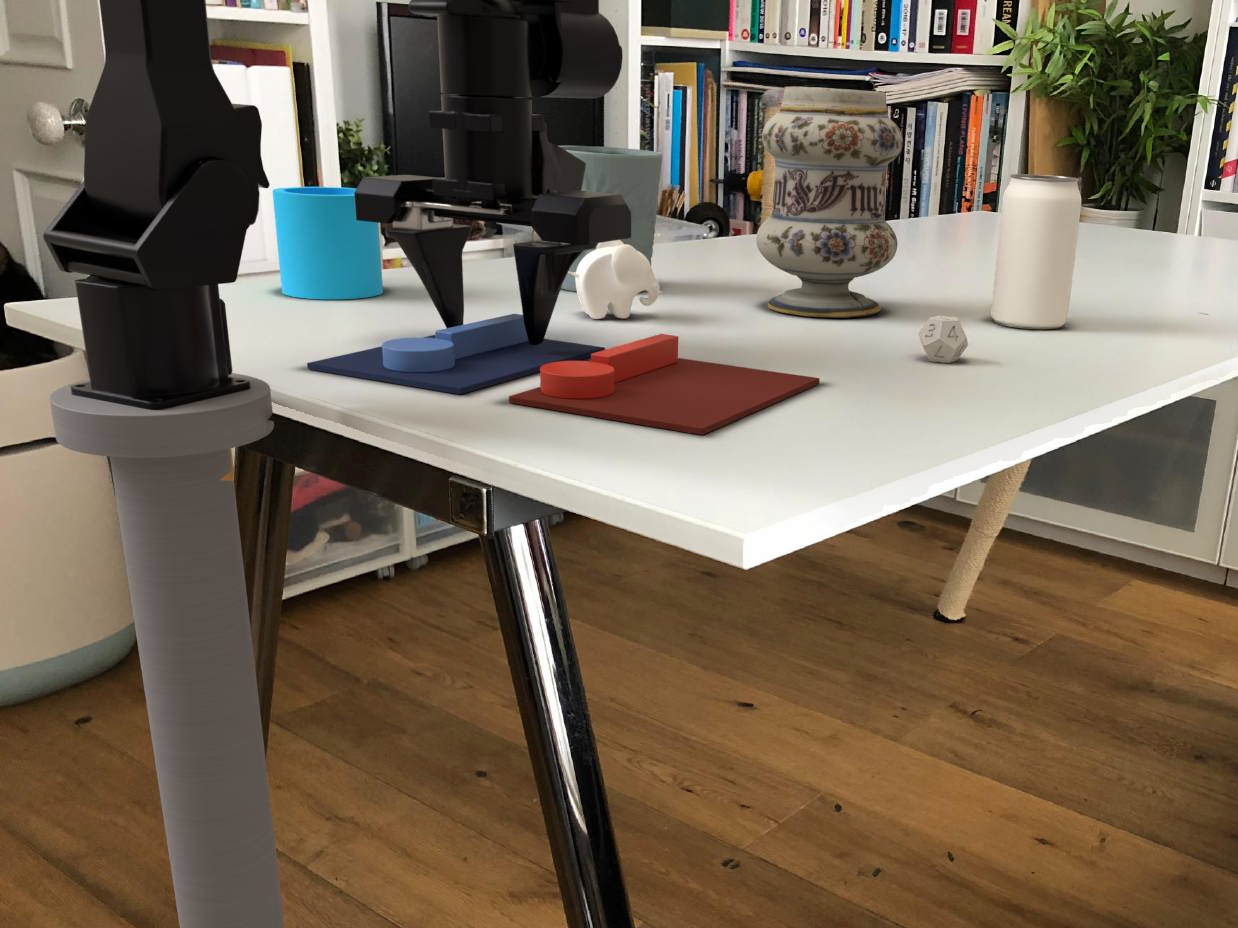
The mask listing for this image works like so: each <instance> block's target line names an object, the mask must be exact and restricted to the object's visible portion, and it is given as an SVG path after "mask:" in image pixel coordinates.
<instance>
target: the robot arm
mask: <svg viewBox="0 0 1238 928" xmlns="http://www.w3.org/2000/svg"><path fill="white" fill-rule="evenodd" d="M98 2H99V10H100V17H101V23H102V24H101V27H102V34H103V43H104V51H105V52H104V66H103V68H102V71H101V75H100V77H99V80H98V83H97V85H96V88H95V91H94V94H93V97H92V100H91V103H90V106H89V108H88V111H87V114H86V117H85V133H84V159H83V160H84V161H83V163H84V164H83V181H82V182H81V184H80V185H79V186H78V188H77V189H76V190H75V192H74V193H72V196H71V197H70V198H69V199H68V201H67V202H66V203H65V205H64V206H63V207H62V208H61V210H60V211H59V212H58V213H57V215H56V216H55V217H54V218H53V220H52V221H51V222H50V224H49V225H48V226H47V227H46V229H45V230H44V231H43V234H42V238H43V240H44V242H45V244H46V246H47V249H48V250H49V252H50V254H51V256H52V258H53V261H54V262H55V263H56V265H57V268H58V269H59V271H60V272H64V273H68V274H71V273H76V274H81V275H87V277H86V278H80V279H75V280H74V284H75V290H76V291H75V292H76V297H77V303H78V311H79V317H80V323H81V329H82V330H81V331H82V336H83V343H84V350H85V356H86V363H87V371H88V375H89V379H90V382H85V383H80V384H75V385H72V386H70V387H71V393H72V395H76V396H81V397H86V398H91V399H96V400H101V401H107V402H112V403H117V404H122V405H127V406H132V407H137V408H143V409H148V410H163V409H168V408H172V407H176V406H181V405H185V404H189V403H193V402H198V401H202V400H206V399H211V398H215V397H219V396H223V395H228V394H232V393H236V392H241V391H245V390H249V389H251V386H250V381H249V380H245V379H240V378H234V377H228V375H231V374H232V373H233V364H232V363H233V362H232V354H231V353H232V352H231V343H230V334H229V327H228V317H227V309H226V302H225V301H224V299H222V298H220V290H219V289H220V288H219V285H224V284H232V283H235V282H236V281H237V279H238V274H239V269H240V265H241V260H242V255H243V250H244V245H245V240H246V235H247V231H248V229H249V228H250V227H251V226H253V225H255V223H256V221H257V219H258V214H259V211H260V194H261V193H260V188H261V189H269V188H270V185H271V184H270V181H269V179H268V176H267V173H266V171H265V169H264V164H263V160H262V133H263V132H262V131H263V122H262V118H261V114H260V110H259V108H258V107H257V106H256V105H253V104H241V103H232V101H231V99H230V98H229V96H228V94H227V92H226V90H225V88H224V87H223V85H222V83H221V81H220V79H219V77H218V75H217V73H216V71H215V69H214V65H213V60H212V55H211V54H212V53H211V44H210V34H209V33H210V32H209V23H208V12H207V11H208V10H207V0H99V1H98ZM408 10H409V11H410V12H411V13H412V14H414V15H423V16H435V17H437V35H438V39H437V40H438V55H439V56H438V58H439V59H438V60H439V77H440V78H439V79H440V81H439V82H440V93H441V94H440V100H441V110H428V121H429V122H428V123H429V129H442V140H443V141H442V142H443V162H444V177H436V176H424V175H414V174H397V175H382V176H381V175H380V176H378V175H377V176H364V177H362V179H361V180H360V182H359V183H358V185H357V187H356V191H355V193H354V199H355V213H356V220H358V221H367V222H376V223H379V224H384V225H385V224H392V227H386V228H384V232H385V236H386V237H387V238H391V239H392V238H393V239H394V240H395V241H396V243H397V244H398V246H399V248H401V250H402V252H403V253H404V255H405V257H406V259H407V260H408V261H409V263H410V265H411V266H412V267H413V269H414V271H415V272H416V274H417V276H418V277H419V279H420V281H421V283H422V284H423V287H424V288H425V290H426V292H427V295H428V296H429V298H430V299H431V302H432V303H433V305H434V307H435V309H436V311H437V313H438V314H439V316H440V319H441V320H442V322H443V324H444V326H445V329H446V328H451V327H455V326H460V325H464V318H465V317H464V316H465V295H464V270H463V268H464V267H463V252H464V249H465V246H466V243H467V242H468V239H469V237H470V235H471V232H472V230H473V226H472V225H465V224H457V223H454V219H457V220H465V221H466V220H467V221H475V222H483V223H484V222H485V223H495V224H505V225H513V226H523V227H531V228H532V234H531V235H532V240H530V241H523V242H515V243H513V245H512V246H513V254H514V255H513V256H514V261H515V268H516V275H517V283H518V290H519V296H520V304H521V311H522V315H523V319H524V325H525V329H526V333H527V337H528V341H529V344H530V345H538V344H541V343H542V342H543V340H544V339H545V337H546V334H547V330H548V328H549V325H550V322H551V319H552V316H553V313H554V310H555V307H556V304H557V301H558V298H559V296H560V292H561V290H562V288H561V287H562V284H563V282H564V280H565V278H566V276H567V273H568V271H569V269H570V267H571V265H572V264H573V263H574V261H575V260H576V259H577V258H578V257H579V256H580V254H581V253H582V252H583V251H584V250H590V249H595V248H596V246H597V244H598V243H602V242H608V241H615V240H621V239H628V238H631V211H630V209H629V208H628V206H627V204H626V202H625V200H624V199H623V197H622V195H621V194H612V193H601V192H590V191H582V185H583V180H584V174H585V169H586V163H585V162H584V161H582V160H580V159H579V158H577V157H576V156H574V155H572V154H571V153H569V152H568V151H566V150H564V149H563V148H561V147H559V146H560V145H556V144H554V143H551V142H550V141H549V138H548V132H547V131H548V130H547V129H548V127H547V126H548V125H547V123H546V121H545V115H544V114H537V113H536V114H534V113H533V98H532V97H535V98H558V99H559V98H562V99H564V98H565V99H597V98H601V97H603V96H605V95H606V94H608V93H610V91H611V90H612V89H613V88H614V87H615V86H616V84H617V82H618V80H619V78H620V74H621V71H622V67H623V47H622V46H621V44H620V41H619V37H618V34H617V31H616V30H615V28H614V26H613V24H612V23H611V22H610V20H609V19H608V18H607V17H606V16H604V15H603V14H602V13H601V12H600V0H410V1H409V2H408ZM470 199H475V200H476V199H478V200H480V201H472V202H471V200H470Z"/></svg>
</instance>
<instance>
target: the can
mask: <svg viewBox="0 0 1238 928" xmlns="http://www.w3.org/2000/svg"><path fill="white" fill-rule="evenodd" d="M1009 177H1010V181H1009V183H1008V185H1007V187H1006V189H1005V190H1004V193H1003V196H1002V203H1001V210H1000V221H999V231H998V241H997V251H996V260H995V269H994V270H995V271H994V279H993V289H992V300H991V310H990V311H991V312H990V317H991V318H992V319H993V322H994V323H995V324H997V325H1001V326H1005V327H1009V328H1015V329H1023V330H1056V329H1057V330H1058V329H1061V328H1063V327H1064V325H1065V324H1066V323H1068V318H1069V311H1070V302H1071V295H1072V287H1073V277H1074V269H1075V263H1076V262H1075V261H1076V254H1077V244H1078V236H1079V228H1080V219H1081V210H1082V195H1081V192H1080V189H1079V185H1078V183H1079V181H1080V179H1079V178H1078V177H1072V176H1064V175H1063V176H1062V175H1053V174H1052V175H1049V174H1036V173H1035V174H1033V173H1031V174H1030V173H1013V174H1010V175H1009Z"/></svg>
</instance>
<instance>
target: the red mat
mask: <svg viewBox="0 0 1238 928" xmlns="http://www.w3.org/2000/svg"><path fill="white" fill-rule="evenodd" d="M819 385H820V377H815V376H814V377H813V376H807V375H801V374H793V373H792V374H791V373H786V372H779V371H774V370H773V371H772V370H766V369H758V368H752V367H745V366H737V365H731V364H730V365H729V364H724V363H716V362H710V361H703V360H696V359H688V358H683V357H678V362H677V363H674V364H671V365H668V366H665V367H662V368H659V369H656V370H653V371H650V372H647V373H644V374H641V375H638V376H635V377H632V378H628V379H625V380H622V381H619V382H616V383H614V393H613V394H611V395H609V396H605V397H601V398H594V399H564V398H557V397H552V396H548V395H546V394H544V393H542V392H541V387H540V386H538V387H534V388H531V389H529V390H528V389H527V390H525V391H521V392H519V393H515V394H512V395H508V403H509V404H514V405H521V406H527V407H533V408H538V409H539V408H540V409H544V410H551V411H556V412H557V411H558V412H561V413H562V412H563V413H568V414H573V415H574V414H575V415H582V416H587V417H592V418H597V419H603V420H604V419H605V420H610V421H618V422H623V423H628V424H634V425H641V426H646V427H651V428H658V429H665V430H671V431H675V432H676V431H677V432H683V433H686V434H687V433H689V434H694V435H700V436H704V435H706V434H708V433H710V432H713V431H715V430H717V429H720V428H722V427H724V426H726V425H729V424H731V423H733V422H735V421H737V420H740V419H743V418H745V417H747V416H749V415H752V414H754V413H756V412H758V411H761V410H763V409H765V408H768V407H770V406H772V405H774V404H776V403H779V402H781V401H784V400H785V399H788V398H790V397H792V396H794V395H797V394H800V393H801V392H805V391H806V390H808V389H811V388H813V387H815V386H819Z"/></svg>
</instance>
